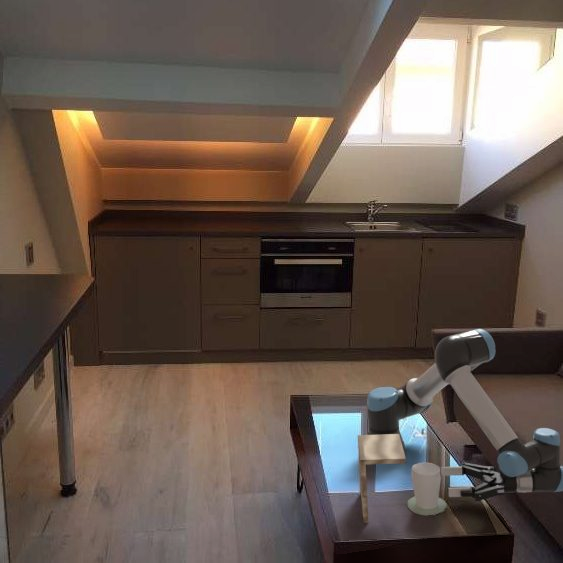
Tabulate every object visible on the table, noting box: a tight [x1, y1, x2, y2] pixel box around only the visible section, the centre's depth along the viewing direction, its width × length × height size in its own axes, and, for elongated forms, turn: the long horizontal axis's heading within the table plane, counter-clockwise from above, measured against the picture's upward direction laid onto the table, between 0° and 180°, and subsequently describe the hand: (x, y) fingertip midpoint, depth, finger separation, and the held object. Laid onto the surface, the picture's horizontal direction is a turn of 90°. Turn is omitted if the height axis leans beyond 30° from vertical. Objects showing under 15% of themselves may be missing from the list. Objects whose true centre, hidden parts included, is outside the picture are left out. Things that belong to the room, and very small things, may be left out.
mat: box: [407, 495, 447, 517], centre depth 197 cm, size 12×12×1 cm
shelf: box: [357, 434, 407, 524], centre depth 197 cm, size 14×18×20 cm
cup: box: [411, 462, 442, 509], centre depth 196 cm, size 9×9×12 cm
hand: (444, 481), depth 195 cm, fingers open, 13 cm apart
